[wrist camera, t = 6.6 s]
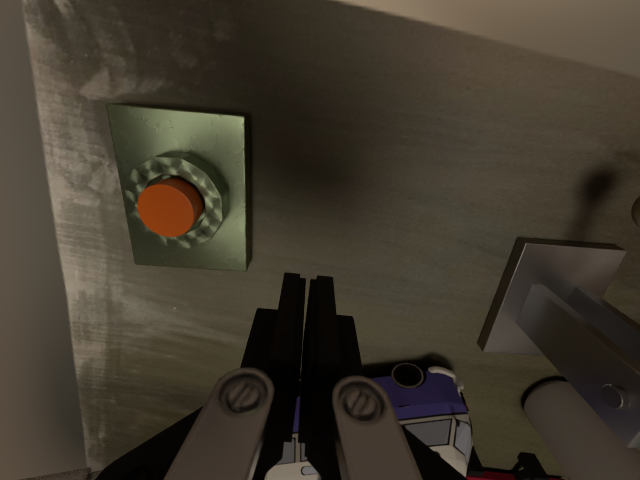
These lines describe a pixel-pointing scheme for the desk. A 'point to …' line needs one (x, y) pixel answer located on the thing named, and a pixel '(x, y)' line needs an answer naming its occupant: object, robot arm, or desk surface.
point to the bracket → (571, 325)
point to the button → (169, 207)
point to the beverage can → (579, 435)
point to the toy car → (405, 419)
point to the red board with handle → (531, 476)
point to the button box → (194, 168)
